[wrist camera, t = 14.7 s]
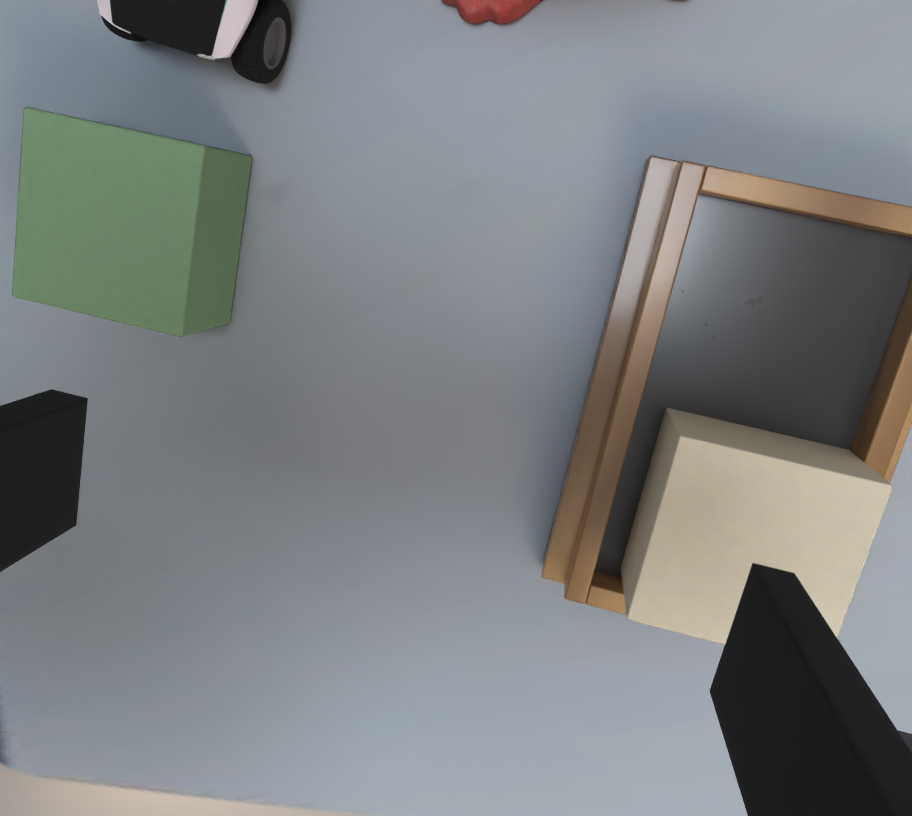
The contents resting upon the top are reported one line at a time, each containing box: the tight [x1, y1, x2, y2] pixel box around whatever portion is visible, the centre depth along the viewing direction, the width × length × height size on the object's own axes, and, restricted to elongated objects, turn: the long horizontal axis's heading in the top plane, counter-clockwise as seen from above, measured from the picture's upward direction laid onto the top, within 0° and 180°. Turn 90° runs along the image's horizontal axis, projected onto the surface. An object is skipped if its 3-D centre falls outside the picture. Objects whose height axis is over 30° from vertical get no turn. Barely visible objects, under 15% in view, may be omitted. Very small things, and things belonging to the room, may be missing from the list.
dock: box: [542, 156, 912, 615], centre depth 28 cm, size 11×16×2 cm
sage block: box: [12, 107, 252, 337], centre depth 29 cm, size 6×6×4 cm
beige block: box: [621, 408, 893, 645], centre depth 27 cm, size 6×6×4 cm
